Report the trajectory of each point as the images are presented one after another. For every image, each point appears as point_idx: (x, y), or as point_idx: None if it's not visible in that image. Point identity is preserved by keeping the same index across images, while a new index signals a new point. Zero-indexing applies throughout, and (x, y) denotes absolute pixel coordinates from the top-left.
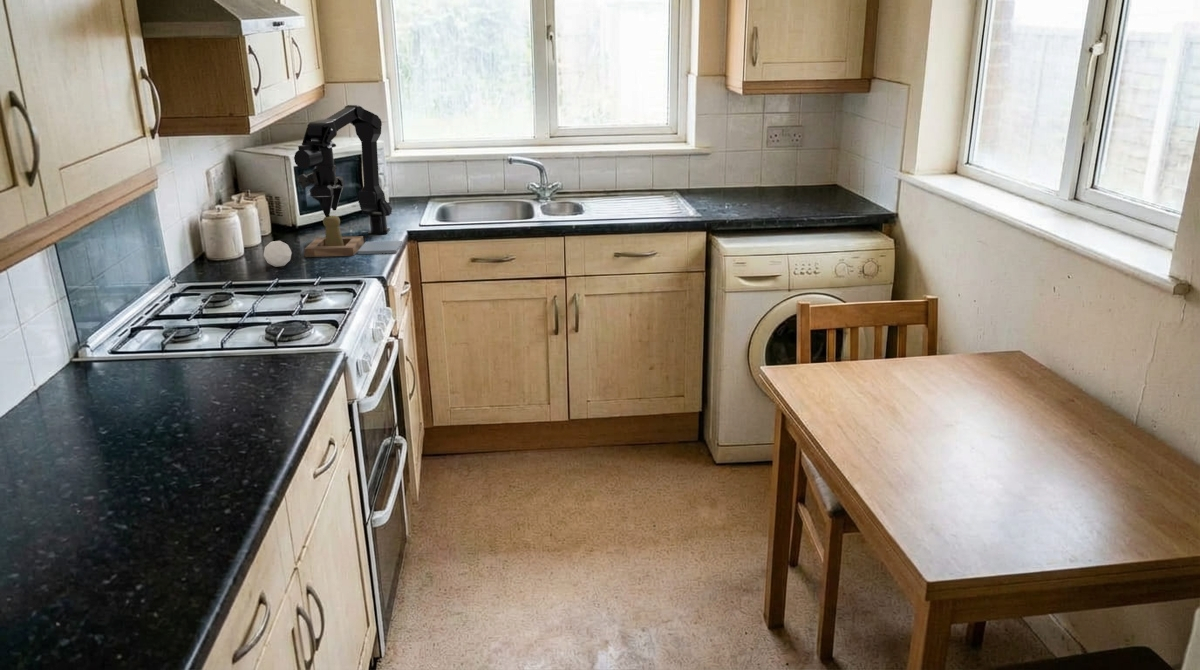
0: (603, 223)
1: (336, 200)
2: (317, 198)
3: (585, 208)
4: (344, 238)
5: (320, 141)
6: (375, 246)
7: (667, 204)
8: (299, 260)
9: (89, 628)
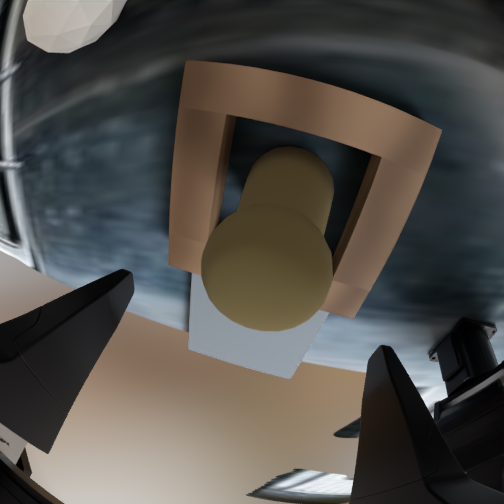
0: (292, 478)
1: (366, 443)
2: None
3: None
4: (352, 254)
5: None
6: None
7: (337, 492)
8: (153, 52)
9: None
